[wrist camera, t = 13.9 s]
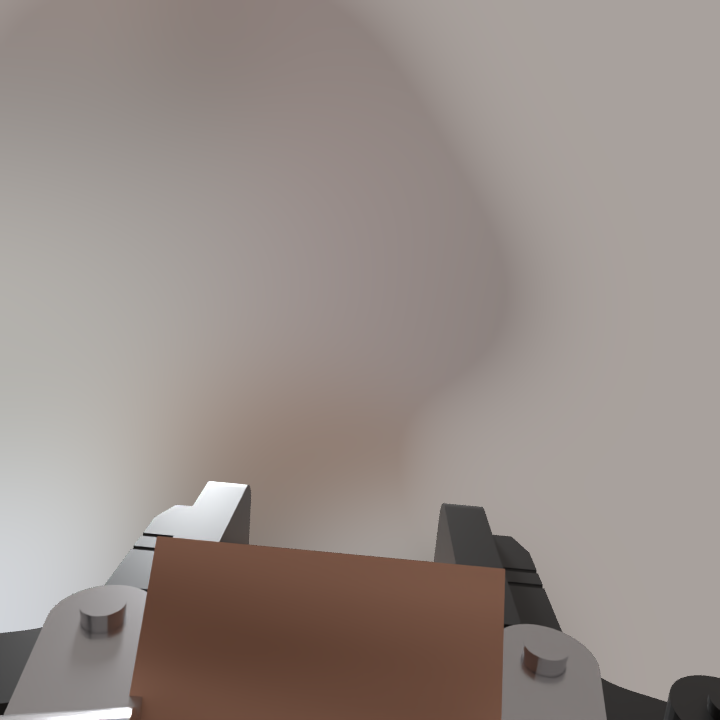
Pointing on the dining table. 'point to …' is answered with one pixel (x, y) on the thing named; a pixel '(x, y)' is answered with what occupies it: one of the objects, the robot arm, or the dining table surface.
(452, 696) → the wooden block
